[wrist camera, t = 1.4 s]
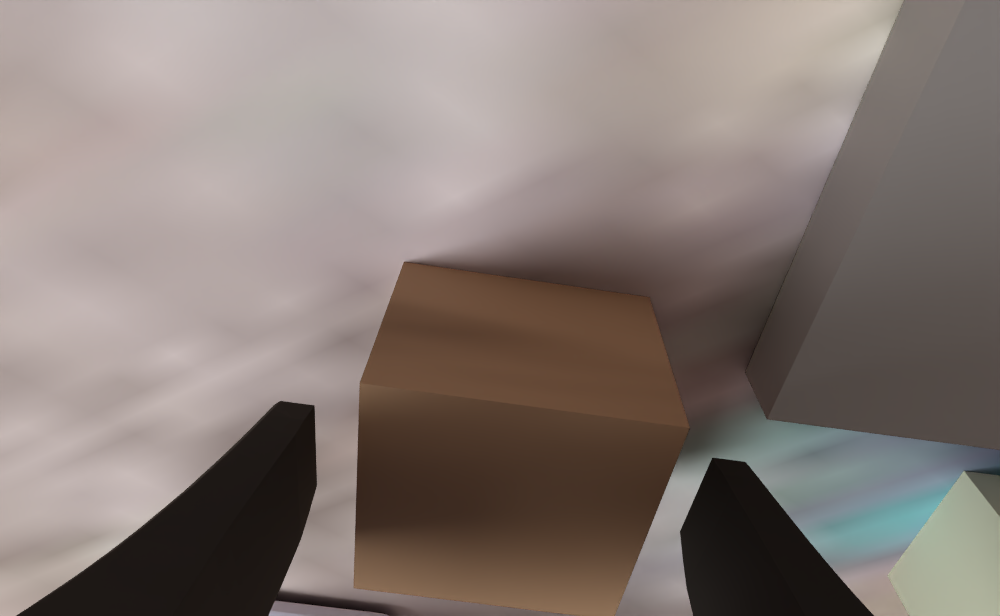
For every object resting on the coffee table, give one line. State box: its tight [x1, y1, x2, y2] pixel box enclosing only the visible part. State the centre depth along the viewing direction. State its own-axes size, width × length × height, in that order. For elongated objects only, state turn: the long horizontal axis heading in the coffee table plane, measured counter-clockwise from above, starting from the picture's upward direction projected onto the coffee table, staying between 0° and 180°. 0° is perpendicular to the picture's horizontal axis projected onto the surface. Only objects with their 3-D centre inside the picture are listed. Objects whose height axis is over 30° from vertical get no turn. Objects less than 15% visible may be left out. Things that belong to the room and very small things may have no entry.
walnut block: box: [354, 262, 690, 616], centre depth 13 cm, size 5×5×4 cm
